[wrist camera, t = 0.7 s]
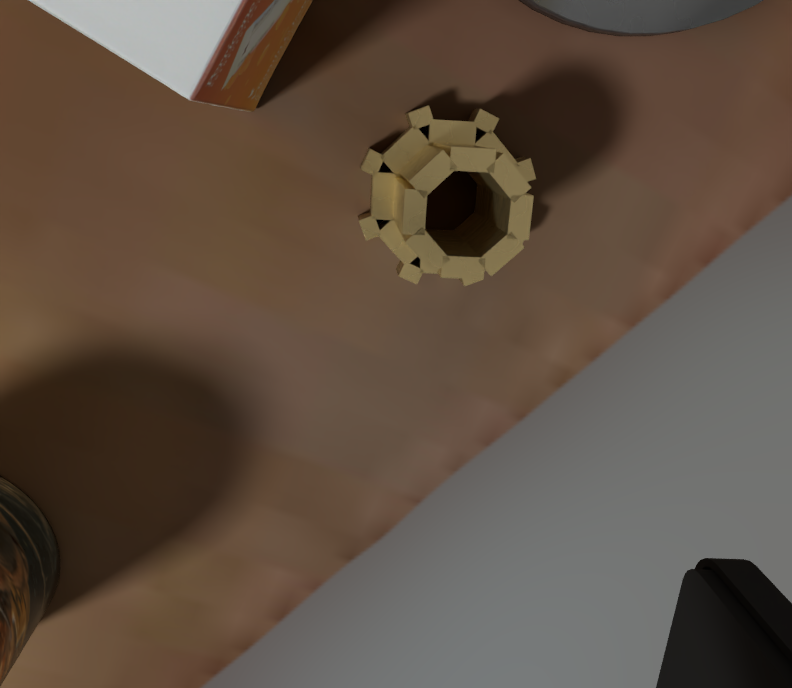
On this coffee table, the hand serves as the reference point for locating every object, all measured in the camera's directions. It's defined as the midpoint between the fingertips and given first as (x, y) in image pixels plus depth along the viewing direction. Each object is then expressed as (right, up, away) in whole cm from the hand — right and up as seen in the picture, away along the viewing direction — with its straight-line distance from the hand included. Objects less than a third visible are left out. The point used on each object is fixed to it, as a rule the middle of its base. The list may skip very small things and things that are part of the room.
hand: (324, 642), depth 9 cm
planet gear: (+3, +10, +22) cm, 24 cm away
